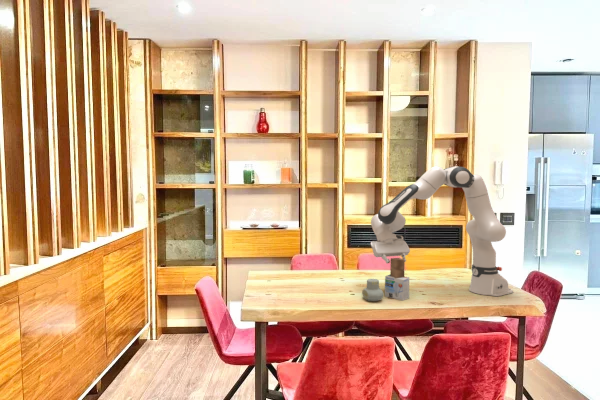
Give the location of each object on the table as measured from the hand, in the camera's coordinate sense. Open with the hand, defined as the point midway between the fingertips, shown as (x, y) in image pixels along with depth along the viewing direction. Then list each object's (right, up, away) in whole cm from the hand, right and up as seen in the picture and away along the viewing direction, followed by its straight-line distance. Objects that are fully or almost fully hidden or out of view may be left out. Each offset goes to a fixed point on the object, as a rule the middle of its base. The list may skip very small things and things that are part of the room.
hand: (396, 262), depth 192 cm
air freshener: (-13, -18, -4) cm, 23 cm away
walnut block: (0, -7, 0) cm, 7 cm away
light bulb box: (0, -18, 0) cm, 18 cm away
